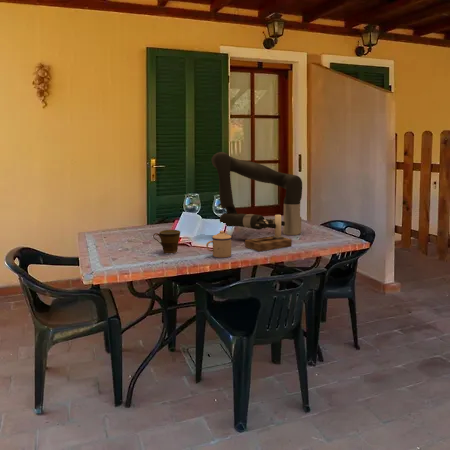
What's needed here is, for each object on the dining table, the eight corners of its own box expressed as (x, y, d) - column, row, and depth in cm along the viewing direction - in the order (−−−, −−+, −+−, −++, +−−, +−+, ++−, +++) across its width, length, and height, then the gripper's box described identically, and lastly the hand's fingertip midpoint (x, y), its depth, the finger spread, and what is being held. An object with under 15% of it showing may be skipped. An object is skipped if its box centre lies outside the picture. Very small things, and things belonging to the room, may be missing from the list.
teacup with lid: (228, 252, 221) (228, 228, 219) (234, 257, 212) (234, 232, 210) (204, 254, 217) (203, 230, 215) (209, 259, 209) (208, 234, 207)
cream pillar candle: (278, 241, 237) (278, 214, 235) (283, 242, 234) (283, 215, 232) (272, 242, 235) (272, 214, 233) (277, 243, 232) (277, 216, 229)
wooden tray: (276, 241, 242) (276, 235, 241) (291, 246, 232) (291, 239, 231) (245, 246, 232) (245, 239, 231) (259, 251, 222) (259, 244, 221)
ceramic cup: (181, 249, 228) (180, 229, 226) (180, 254, 218) (179, 233, 216) (155, 249, 227) (154, 229, 226) (152, 255, 218) (151, 234, 216)
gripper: (245, 216, 236) (272, 219, 226) (261, 212, 247) (287, 215, 237) (245, 230, 237) (272, 234, 227) (261, 226, 248) (287, 230, 238)
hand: (280, 224), depth 232 cm, fingers open, 8 cm apart
